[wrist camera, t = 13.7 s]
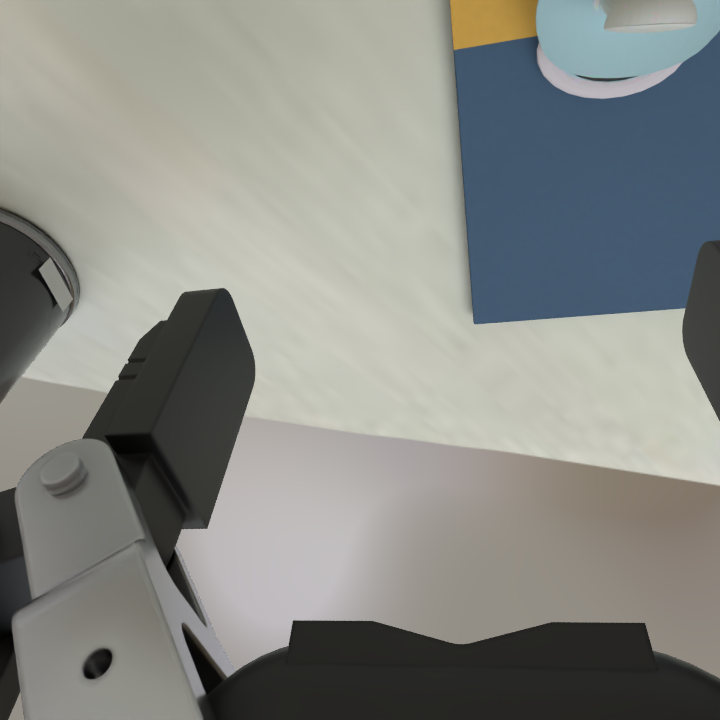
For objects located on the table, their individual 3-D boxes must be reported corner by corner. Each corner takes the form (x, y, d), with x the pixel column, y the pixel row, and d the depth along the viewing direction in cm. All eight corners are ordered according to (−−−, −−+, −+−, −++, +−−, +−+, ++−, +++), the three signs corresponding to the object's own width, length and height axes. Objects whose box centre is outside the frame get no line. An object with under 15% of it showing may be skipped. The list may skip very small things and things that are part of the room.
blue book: (473, 315, 38) (473, 326, 37) (445, -60, 25) (445, -56, 24) (713, 296, 35) (719, 307, 34) (820, -137, 22) (835, -136, 21)
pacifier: (683, 90, 27) (731, -70, 23) (730, 150, 22) (801, -36, 18) (519, 95, 28) (536, -59, 24) (533, 153, 23) (558, -24, 19)
